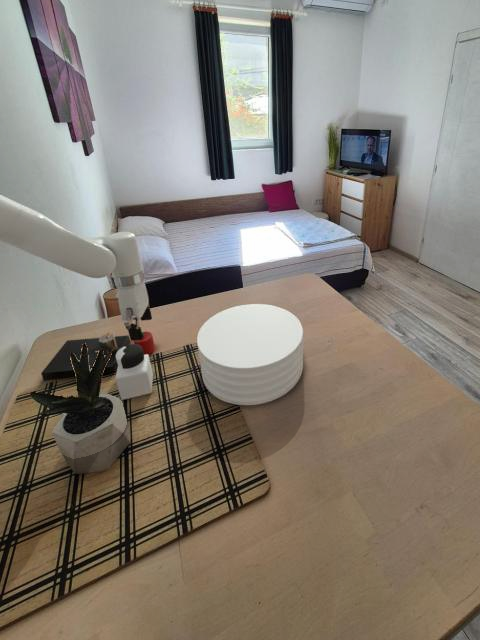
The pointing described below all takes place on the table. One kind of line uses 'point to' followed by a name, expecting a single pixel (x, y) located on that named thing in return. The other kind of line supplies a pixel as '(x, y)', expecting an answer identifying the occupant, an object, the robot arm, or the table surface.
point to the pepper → (146, 343)
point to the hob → (62, 363)
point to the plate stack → (251, 353)
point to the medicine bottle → (133, 372)
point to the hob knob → (108, 343)
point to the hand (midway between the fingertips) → (142, 329)
